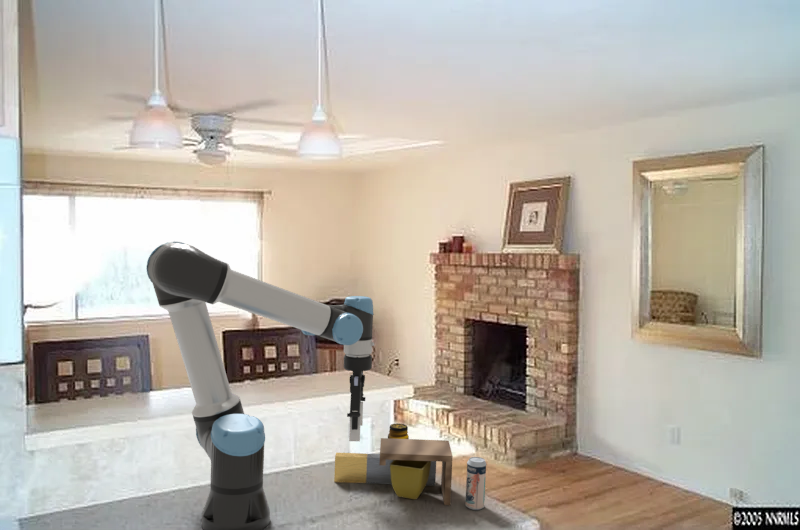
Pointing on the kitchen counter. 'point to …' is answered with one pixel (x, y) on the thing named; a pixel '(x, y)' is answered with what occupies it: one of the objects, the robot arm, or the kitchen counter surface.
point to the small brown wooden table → (421, 456)
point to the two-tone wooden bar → (368, 469)
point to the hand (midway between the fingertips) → (356, 432)
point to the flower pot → (409, 477)
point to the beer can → (475, 483)
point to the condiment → (398, 431)
